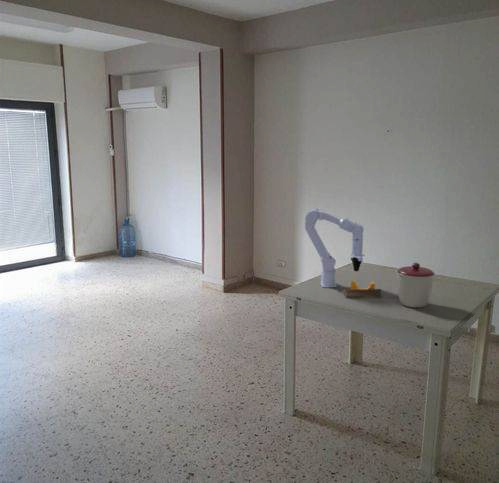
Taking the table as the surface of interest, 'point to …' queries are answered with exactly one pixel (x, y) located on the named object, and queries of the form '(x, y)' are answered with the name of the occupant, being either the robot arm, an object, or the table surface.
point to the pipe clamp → (354, 286)
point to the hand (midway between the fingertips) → (356, 270)
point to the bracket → (362, 293)
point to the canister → (414, 285)
